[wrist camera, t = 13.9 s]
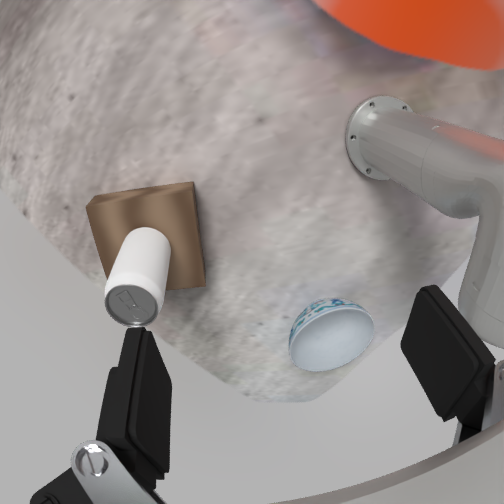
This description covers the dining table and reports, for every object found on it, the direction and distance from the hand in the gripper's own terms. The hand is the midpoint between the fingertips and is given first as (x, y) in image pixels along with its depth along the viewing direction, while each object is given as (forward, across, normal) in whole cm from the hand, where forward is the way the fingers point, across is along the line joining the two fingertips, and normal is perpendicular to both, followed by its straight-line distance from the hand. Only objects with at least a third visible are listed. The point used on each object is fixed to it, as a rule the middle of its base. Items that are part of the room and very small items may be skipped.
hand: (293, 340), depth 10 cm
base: (+33, +13, +11) cm, 37 cm away
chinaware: (+33, -13, +31) cm, 47 cm away
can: (+29, +12, +11) cm, 33 cm away
